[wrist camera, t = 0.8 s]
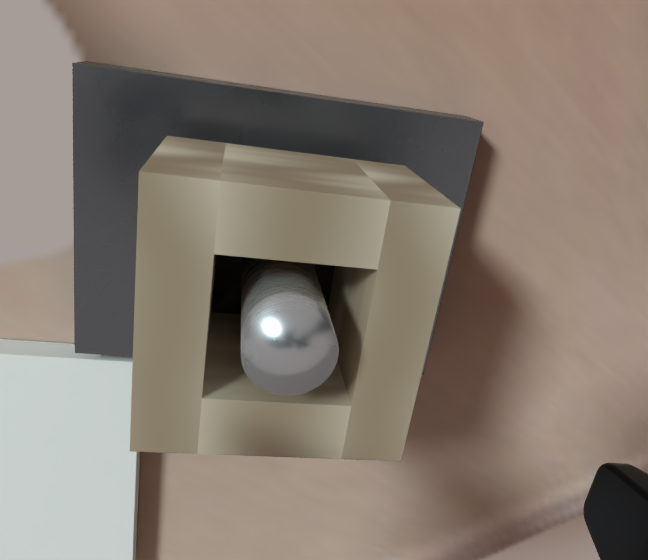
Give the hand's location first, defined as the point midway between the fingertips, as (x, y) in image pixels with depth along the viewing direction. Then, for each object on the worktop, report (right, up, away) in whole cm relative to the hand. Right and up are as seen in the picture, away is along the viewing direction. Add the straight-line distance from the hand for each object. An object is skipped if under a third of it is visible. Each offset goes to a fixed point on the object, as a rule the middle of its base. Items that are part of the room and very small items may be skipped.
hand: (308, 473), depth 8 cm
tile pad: (-12, -4, +14) cm, 19 cm away
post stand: (-2, +5, +12) cm, 13 cm away
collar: (-1, +3, +8) cm, 9 cm away
